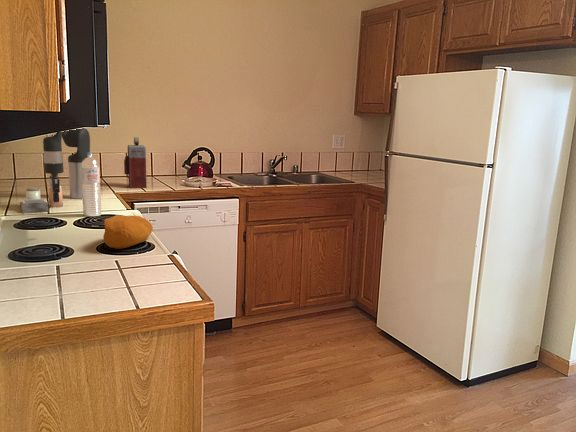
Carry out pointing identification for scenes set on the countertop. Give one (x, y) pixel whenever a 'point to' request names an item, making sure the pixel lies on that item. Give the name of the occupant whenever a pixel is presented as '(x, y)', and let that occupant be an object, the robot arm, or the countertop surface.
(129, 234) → the bread
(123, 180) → the countertop surface
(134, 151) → the red grey square bottle
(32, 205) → the lane
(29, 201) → the plate
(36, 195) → the sage jar
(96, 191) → the water bottle
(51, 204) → the terracotta jar
